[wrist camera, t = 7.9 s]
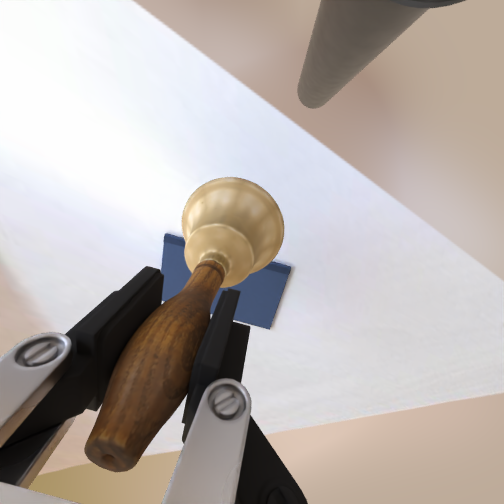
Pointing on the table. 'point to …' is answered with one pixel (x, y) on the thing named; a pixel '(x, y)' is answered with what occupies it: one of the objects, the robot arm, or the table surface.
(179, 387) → the hand bell
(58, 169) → the table surface
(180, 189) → the table surface
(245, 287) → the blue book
